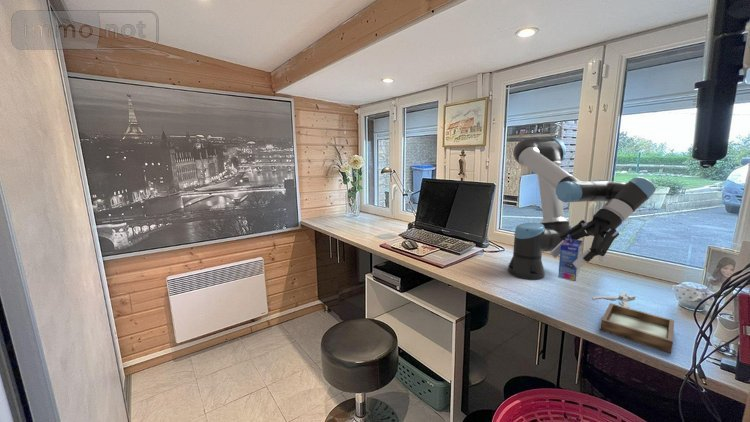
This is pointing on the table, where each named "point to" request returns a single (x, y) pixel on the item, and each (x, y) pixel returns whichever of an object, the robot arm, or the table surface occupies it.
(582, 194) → the robot arm
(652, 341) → the wooden tray
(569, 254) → the ink cartridge box
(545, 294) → the table surface
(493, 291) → the table surface
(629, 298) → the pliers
